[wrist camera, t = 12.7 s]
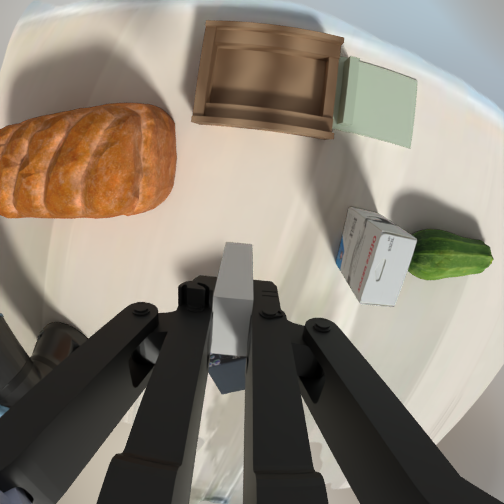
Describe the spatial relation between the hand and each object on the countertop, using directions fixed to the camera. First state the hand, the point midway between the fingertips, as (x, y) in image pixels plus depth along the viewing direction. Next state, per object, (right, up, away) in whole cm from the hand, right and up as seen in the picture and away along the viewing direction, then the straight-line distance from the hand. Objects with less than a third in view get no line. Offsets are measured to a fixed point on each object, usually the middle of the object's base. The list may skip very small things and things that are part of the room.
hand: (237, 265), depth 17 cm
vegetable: (+32, +1, +23) cm, 40 cm away
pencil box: (+3, +22, +16) cm, 27 cm away
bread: (-22, +14, +20) cm, 33 cm away
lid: (+17, +21, +16) cm, 32 cm away
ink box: (+16, +3, +23) cm, 28 cm away
